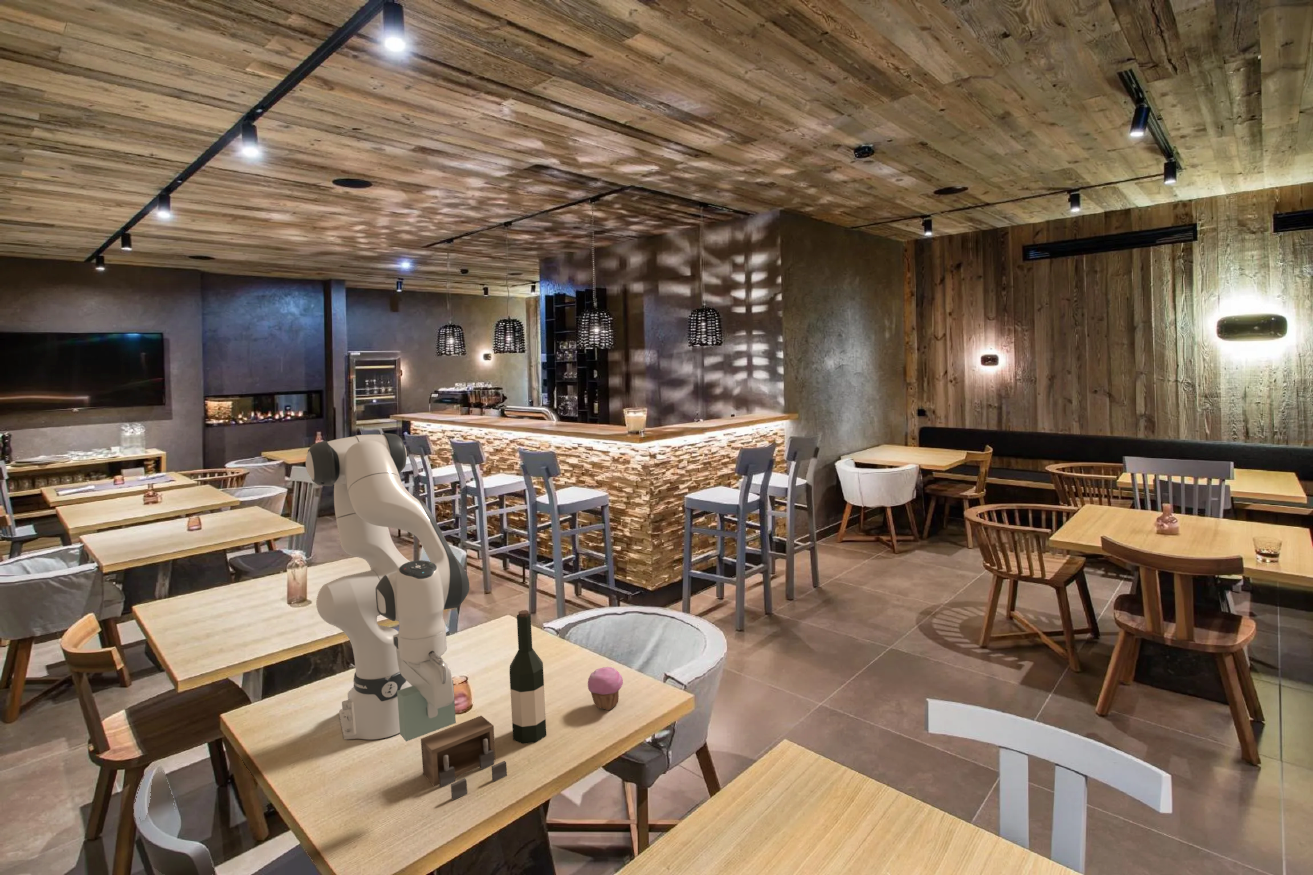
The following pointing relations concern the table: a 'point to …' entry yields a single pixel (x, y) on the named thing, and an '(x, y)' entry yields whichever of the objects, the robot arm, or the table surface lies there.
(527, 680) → the wine bottle
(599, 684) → the cupcake
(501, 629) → the table surface
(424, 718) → the door
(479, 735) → the cabinet
